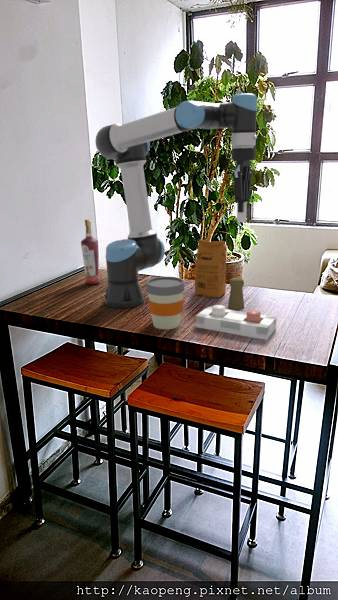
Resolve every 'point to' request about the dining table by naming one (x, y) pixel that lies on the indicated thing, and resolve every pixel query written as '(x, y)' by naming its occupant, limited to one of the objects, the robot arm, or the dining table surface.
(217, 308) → the white rounded piece
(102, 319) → the dining table surface
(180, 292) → the reusable coffee cup
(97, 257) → the liquor
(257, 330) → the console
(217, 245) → the coffee package
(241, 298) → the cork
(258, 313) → the salmon rounded knob
